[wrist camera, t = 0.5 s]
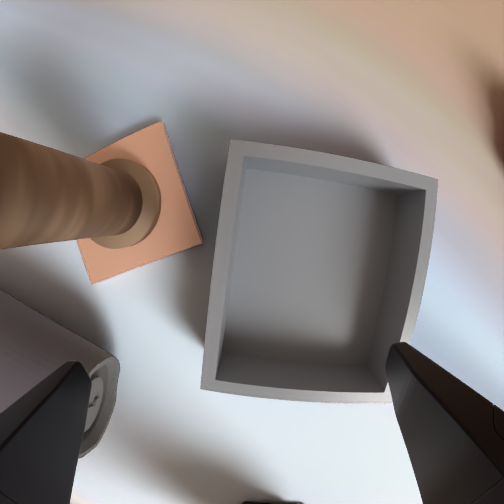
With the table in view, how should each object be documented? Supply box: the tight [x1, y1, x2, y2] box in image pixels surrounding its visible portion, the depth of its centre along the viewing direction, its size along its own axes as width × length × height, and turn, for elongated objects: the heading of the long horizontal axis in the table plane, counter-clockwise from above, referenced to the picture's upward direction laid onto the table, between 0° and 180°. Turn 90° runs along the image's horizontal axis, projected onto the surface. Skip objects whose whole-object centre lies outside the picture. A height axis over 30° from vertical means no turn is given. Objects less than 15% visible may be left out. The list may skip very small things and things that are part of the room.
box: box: [200, 139, 438, 403], centre depth 19 cm, size 14×12×5 cm
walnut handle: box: [0, 132, 161, 249], centre depth 13 cm, size 6×6×14 cm
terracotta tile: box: [77, 121, 204, 284], centre depth 20 cm, size 9×9×1 cm
